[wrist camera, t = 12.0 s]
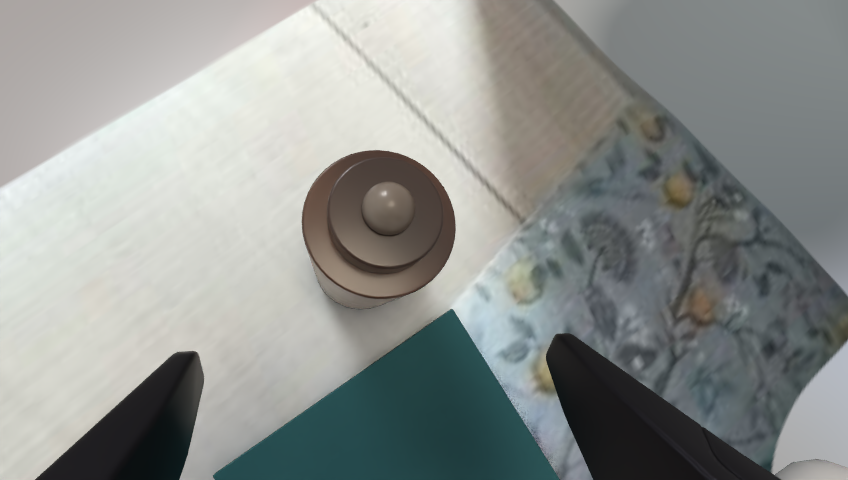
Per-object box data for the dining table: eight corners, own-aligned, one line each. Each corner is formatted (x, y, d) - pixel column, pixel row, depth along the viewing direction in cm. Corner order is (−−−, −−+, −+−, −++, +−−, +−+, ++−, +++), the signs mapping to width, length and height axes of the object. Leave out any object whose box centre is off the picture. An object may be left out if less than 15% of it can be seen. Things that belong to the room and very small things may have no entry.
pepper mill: (364, 329, 20) (400, 335, 9) (294, 265, 20) (250, 199, 9) (424, 260, 22) (512, 200, 11) (359, 201, 22) (386, 83, 11)
